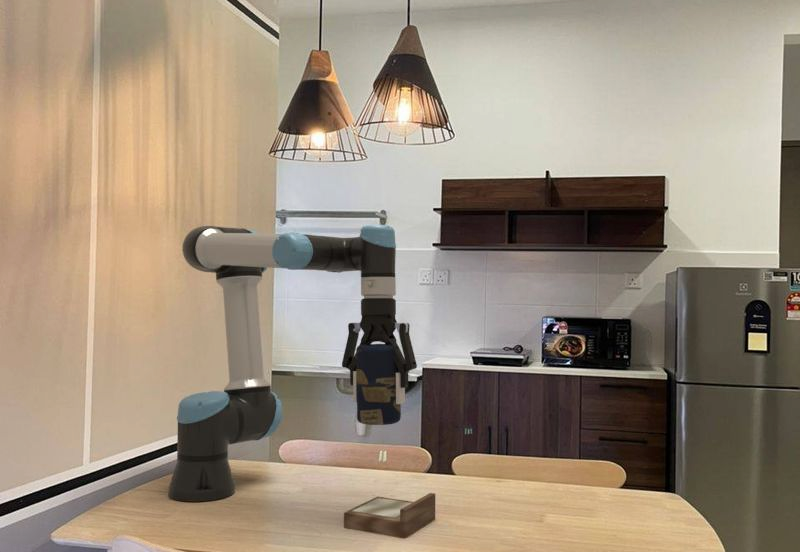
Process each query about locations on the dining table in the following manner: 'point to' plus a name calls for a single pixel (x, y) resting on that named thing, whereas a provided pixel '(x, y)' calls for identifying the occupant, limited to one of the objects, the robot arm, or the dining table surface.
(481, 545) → the dining table surface
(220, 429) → the robot arm
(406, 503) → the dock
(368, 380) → the canister
